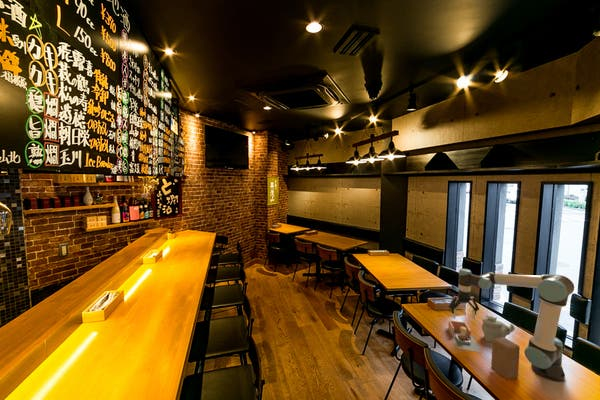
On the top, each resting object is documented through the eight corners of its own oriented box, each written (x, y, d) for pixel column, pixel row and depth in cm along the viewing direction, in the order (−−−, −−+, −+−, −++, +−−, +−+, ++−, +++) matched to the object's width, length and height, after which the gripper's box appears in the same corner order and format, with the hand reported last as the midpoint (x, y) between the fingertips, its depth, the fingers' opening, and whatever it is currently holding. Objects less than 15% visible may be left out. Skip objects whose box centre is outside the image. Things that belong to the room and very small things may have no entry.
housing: (470, 339, 191) (470, 330, 190) (452, 337, 194) (452, 328, 194) (465, 330, 202) (465, 322, 202) (448, 328, 206) (448, 320, 205)
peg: (466, 342, 188) (467, 329, 187) (460, 341, 189) (460, 328, 188) (464, 339, 191) (465, 326, 191) (458, 338, 193) (459, 325, 192)
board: (482, 353, 177) (482, 352, 177) (456, 349, 182) (456, 348, 182) (468, 332, 203) (468, 330, 203) (446, 328, 207) (446, 327, 207)
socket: (470, 344, 185) (470, 342, 185) (458, 343, 187) (458, 340, 187) (466, 338, 193) (467, 336, 193) (454, 336, 195) (455, 334, 195)
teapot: (514, 344, 187) (515, 320, 185) (503, 350, 180) (504, 325, 179) (489, 333, 201) (490, 310, 200) (478, 338, 195) (479, 314, 194)
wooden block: (506, 380, 153) (508, 348, 152) (490, 368, 162) (491, 338, 161) (518, 377, 156) (520, 345, 154) (502, 365, 165) (503, 336, 164)
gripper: (479, 288, 190) (478, 316, 191) (444, 287, 193) (443, 314, 194) (485, 293, 182) (484, 321, 184) (448, 291, 185) (447, 319, 187)
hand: (463, 318), depth 189 cm, fingers open, 13 cm apart
